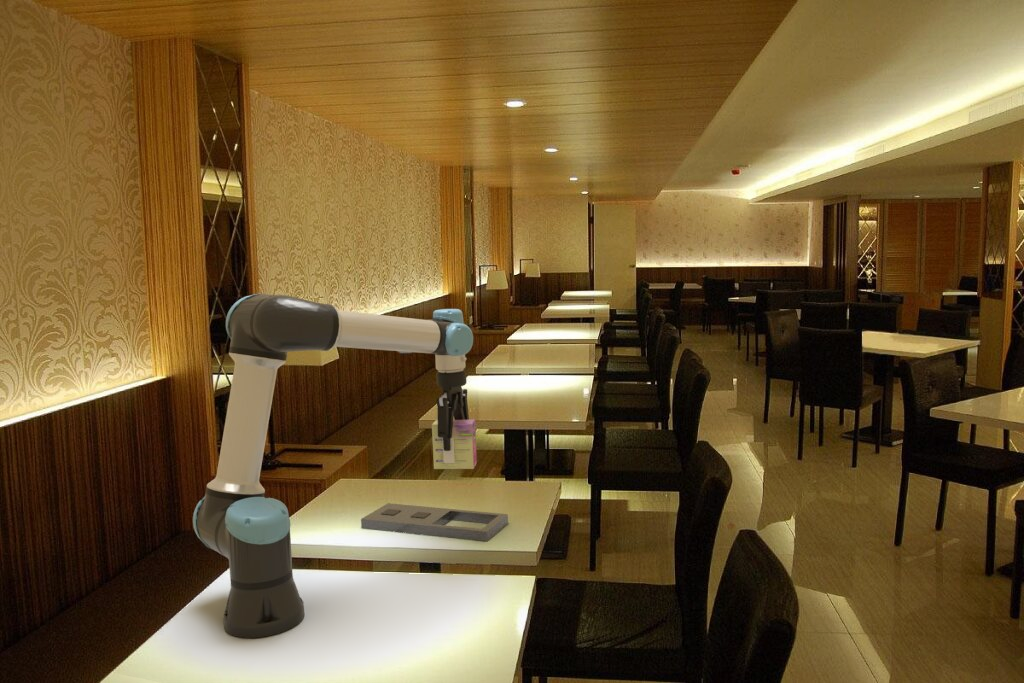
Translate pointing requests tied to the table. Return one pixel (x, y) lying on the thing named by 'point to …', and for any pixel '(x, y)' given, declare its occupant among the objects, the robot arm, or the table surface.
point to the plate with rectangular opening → (434, 521)
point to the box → (456, 446)
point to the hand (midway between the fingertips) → (455, 458)
